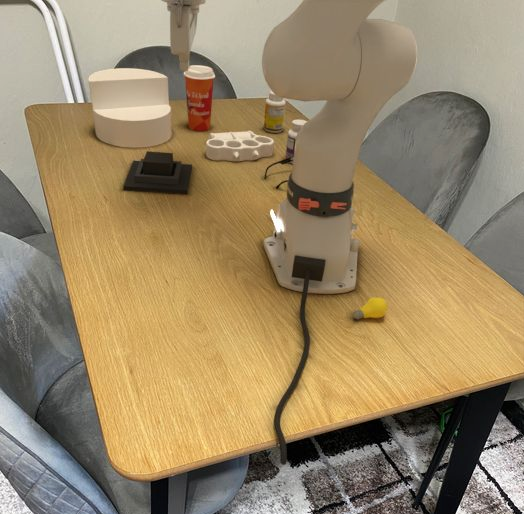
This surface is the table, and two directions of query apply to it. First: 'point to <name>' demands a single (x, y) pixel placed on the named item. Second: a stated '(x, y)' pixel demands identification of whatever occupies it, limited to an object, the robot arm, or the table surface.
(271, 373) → the table surface
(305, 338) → the robot arm
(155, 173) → the black block
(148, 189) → the base pad
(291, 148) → the pill bottle
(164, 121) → the container
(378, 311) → the light bulb
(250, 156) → the white brass knuckles
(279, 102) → the supplement bottle
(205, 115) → the coffee cup
